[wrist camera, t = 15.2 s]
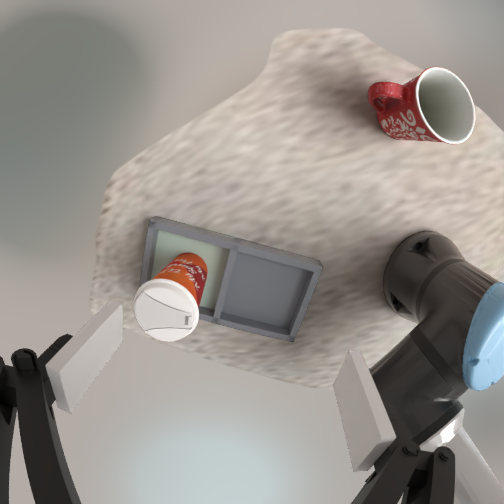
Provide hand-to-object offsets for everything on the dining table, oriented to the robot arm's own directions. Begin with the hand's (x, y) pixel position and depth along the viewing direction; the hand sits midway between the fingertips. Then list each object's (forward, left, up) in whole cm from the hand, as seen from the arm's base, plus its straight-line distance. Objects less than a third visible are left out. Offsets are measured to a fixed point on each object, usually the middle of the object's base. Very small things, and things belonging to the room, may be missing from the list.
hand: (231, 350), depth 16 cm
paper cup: (+7, +8, -27) cm, 29 cm away
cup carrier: (+1, +8, -28) cm, 29 cm away
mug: (-15, -23, -28) cm, 39 cm away
